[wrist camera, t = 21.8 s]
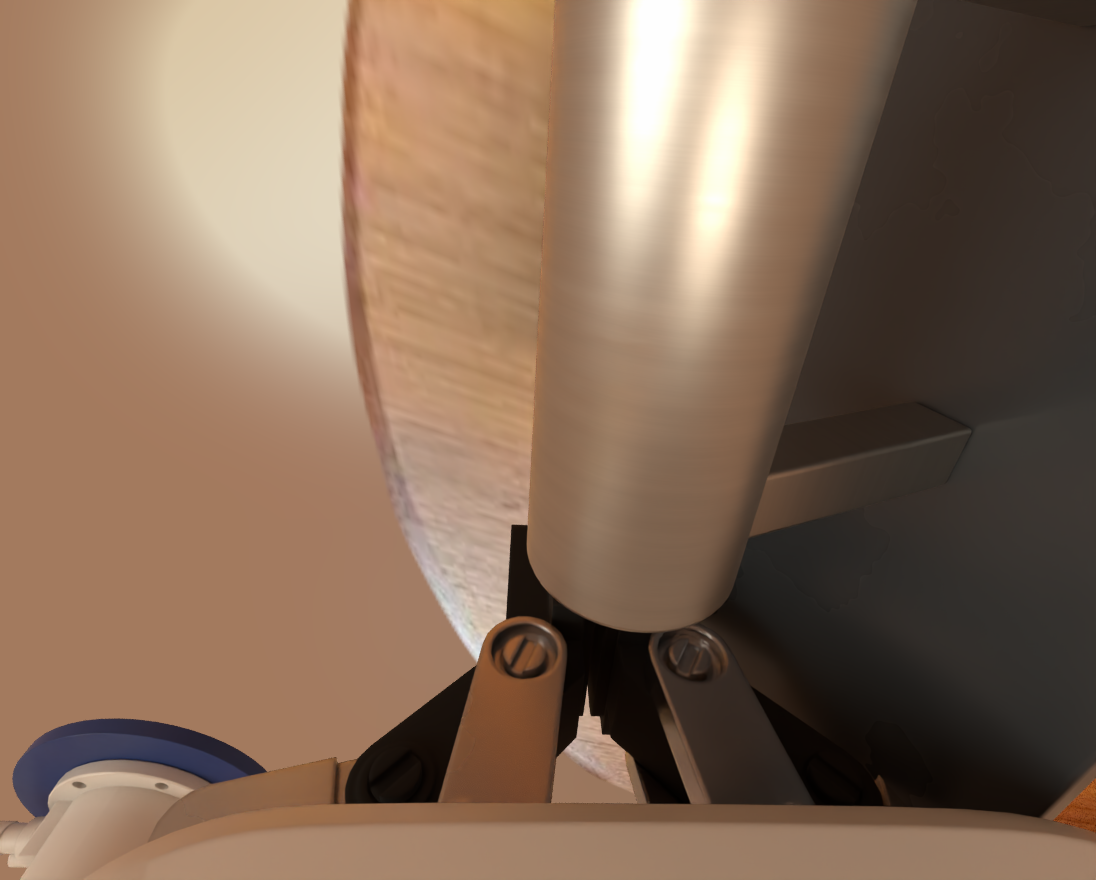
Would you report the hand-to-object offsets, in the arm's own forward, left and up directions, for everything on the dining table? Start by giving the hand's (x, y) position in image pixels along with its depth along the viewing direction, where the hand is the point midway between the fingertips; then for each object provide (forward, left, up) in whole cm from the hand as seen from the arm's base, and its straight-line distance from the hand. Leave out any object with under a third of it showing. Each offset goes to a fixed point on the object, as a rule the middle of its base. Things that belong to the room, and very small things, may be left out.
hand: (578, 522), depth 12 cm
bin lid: (+2, +7, +1) cm, 7 cm away
